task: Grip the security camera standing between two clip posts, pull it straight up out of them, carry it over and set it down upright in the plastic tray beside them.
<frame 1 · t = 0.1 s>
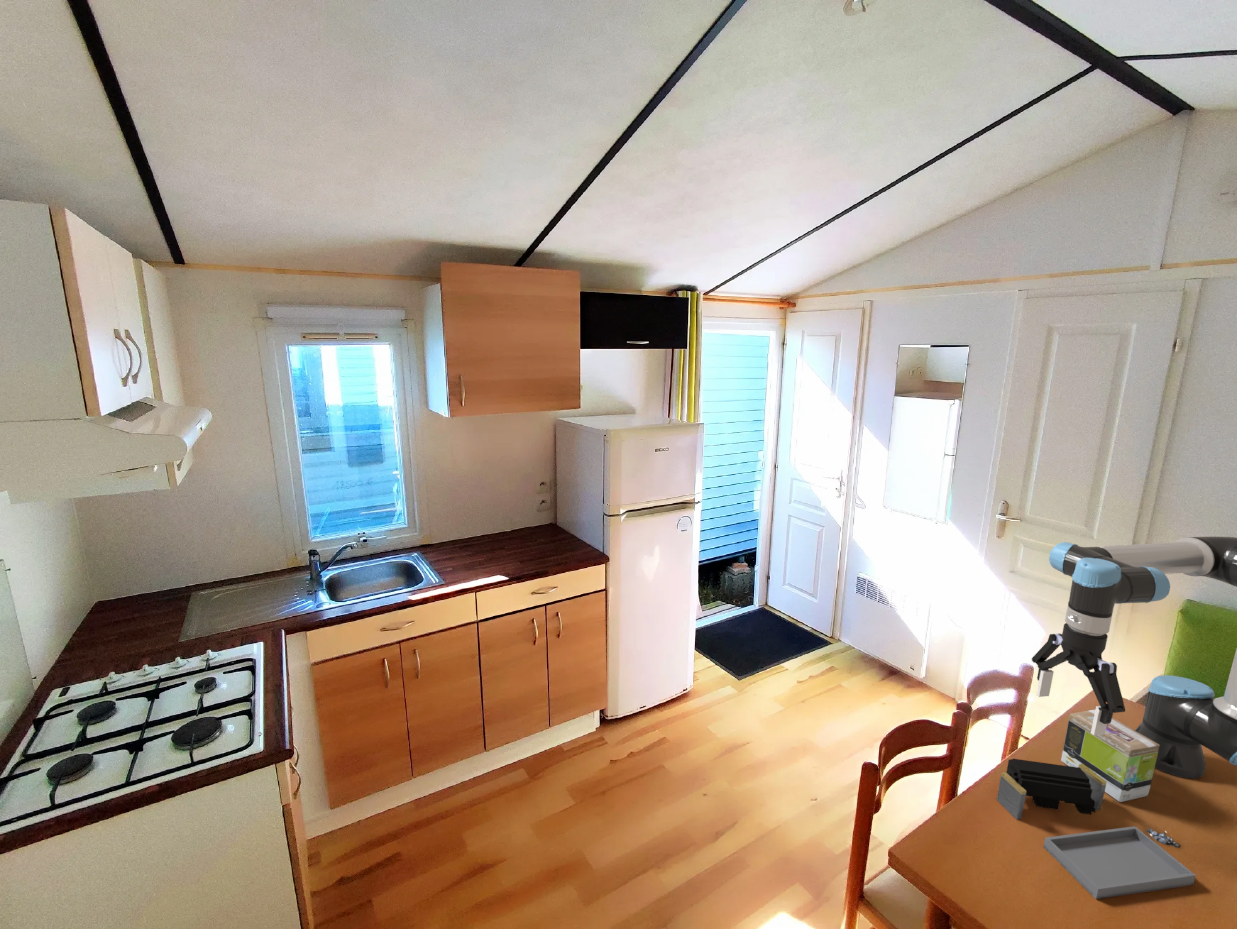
hand: (1068, 713, 128), 28 cm above the table, tool pointing down, fingers open, 13 cm apart
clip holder: (1048, 804, 137), on the table
blueberries: (1163, 840, 128), on the table
security camera: (1048, 805, 137), on the table
tray: (1115, 865, 121), on the table
tea box: (1102, 778, 146), on the table
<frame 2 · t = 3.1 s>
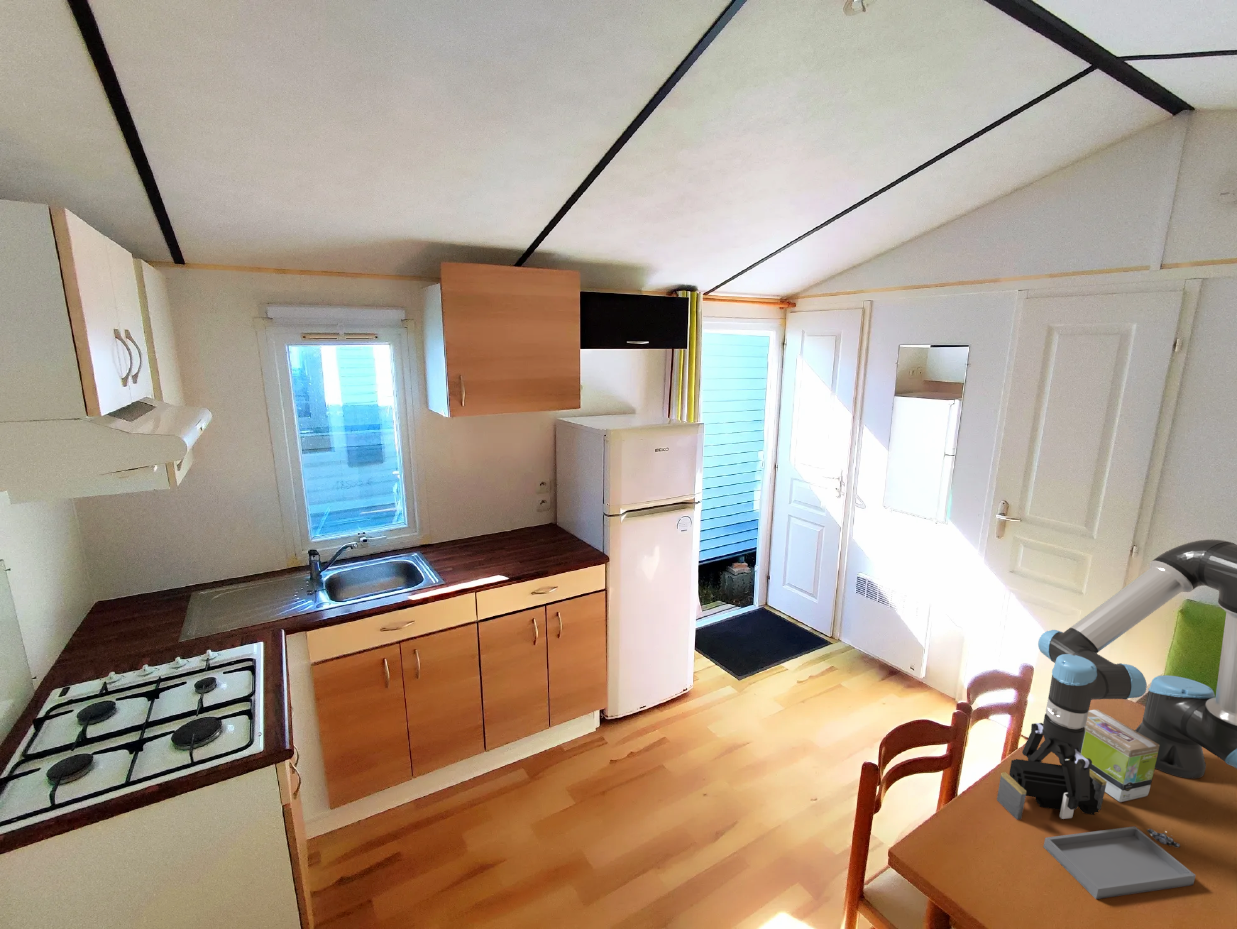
hand: (1048, 801, 137), 1 cm above the table, tool pointing down, fingers closed on security camera, 8 cm apart
security camera: (1051, 805, 137), on the table, touching gripper
everything else where it was.
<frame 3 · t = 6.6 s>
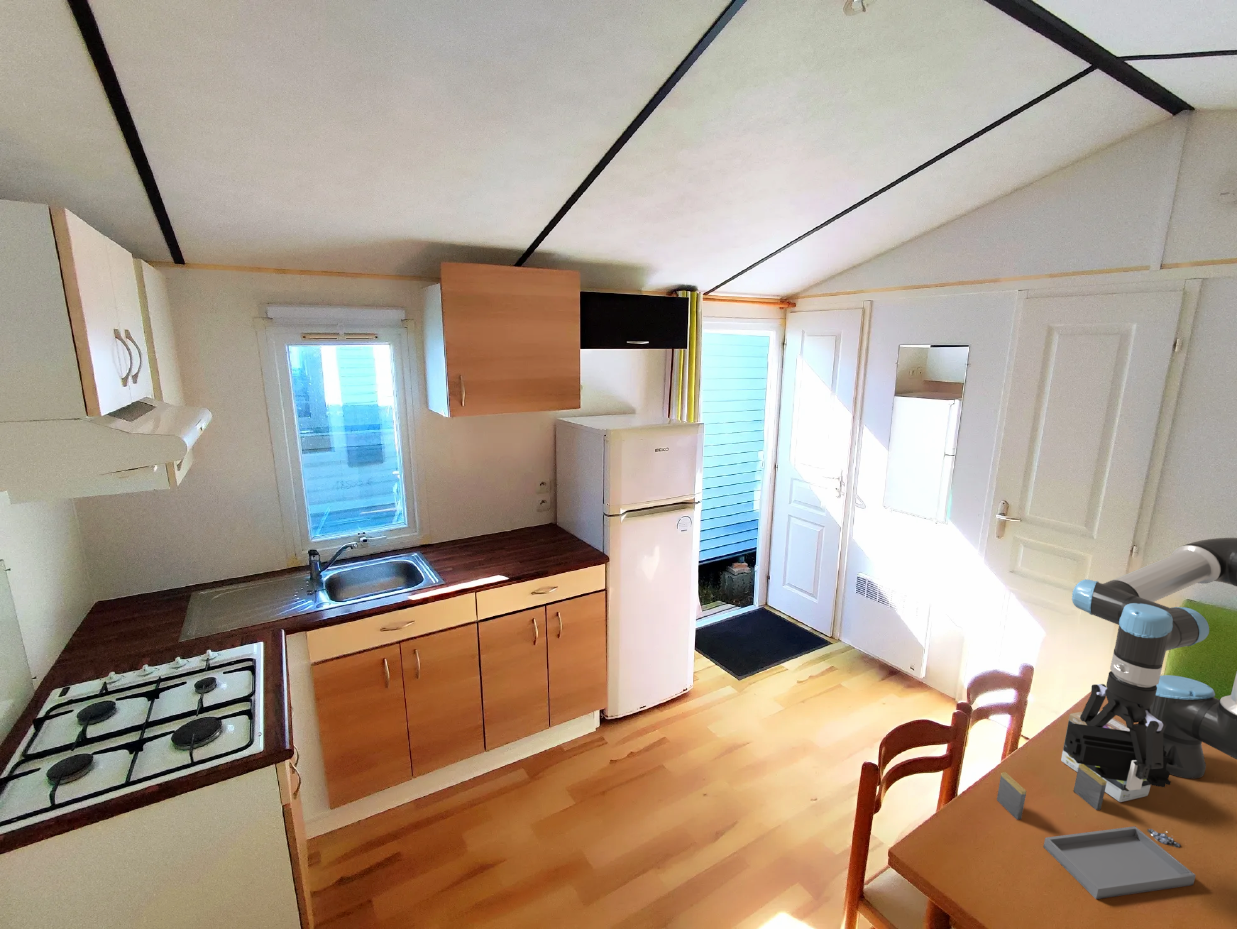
hand: (1111, 772, 121), 20 cm above the table, tool pointing down, fingers closed on security camera, 8 cm apart
security camera: (1114, 777, 121), point 19 cm above the table, touching gripper
everything else where it was.
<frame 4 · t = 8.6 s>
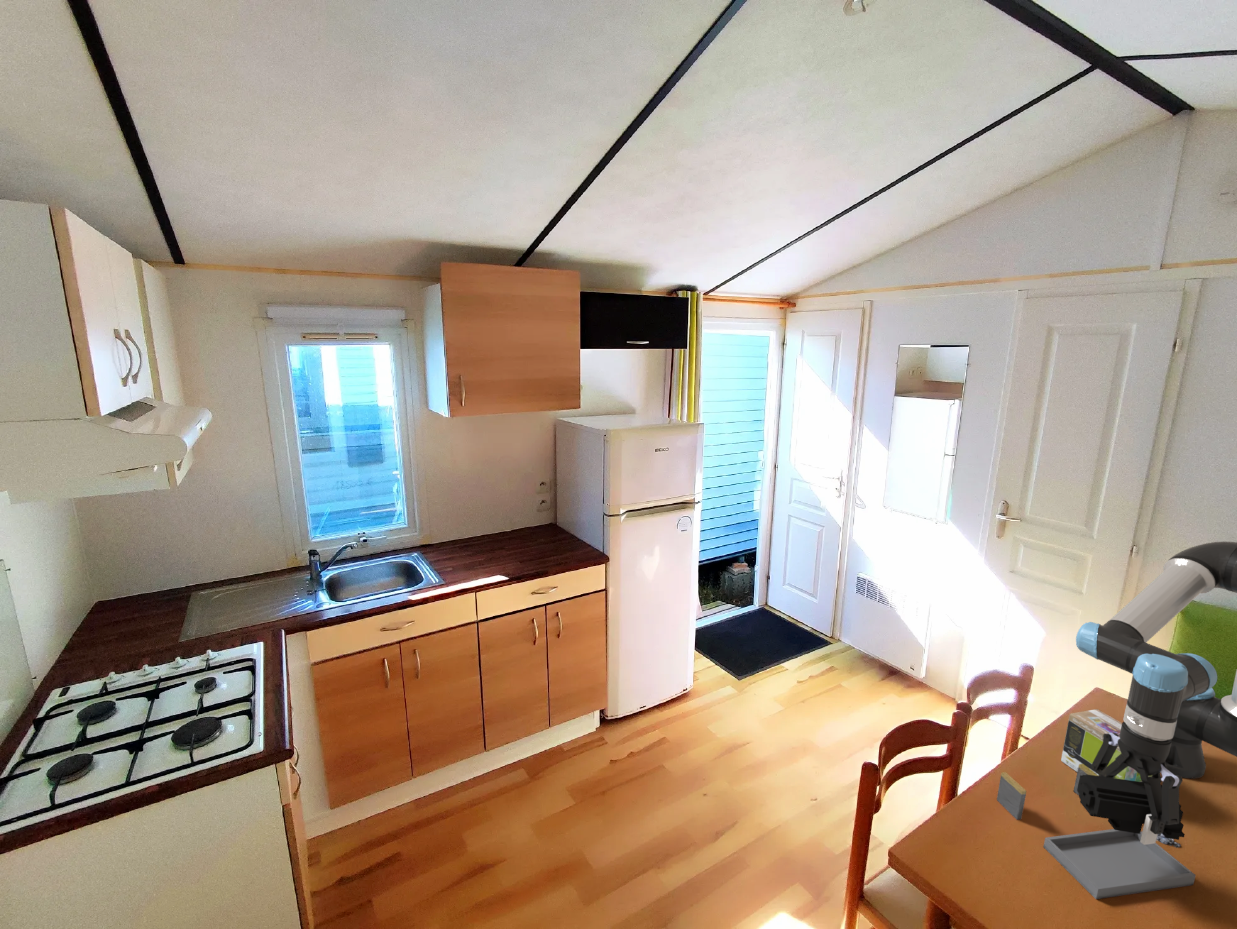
hand: (1124, 823, 119), 11 cm above the table, tool pointing down, fingers closed on security camera, 8 cm apart
security camera: (1127, 828, 119), point 10 cm above the table, touching gripper
everything else where it was.
when the fingers open (4 cm above the table, at t = 10.2 s): security camera drops 3 cm, resting on tray.
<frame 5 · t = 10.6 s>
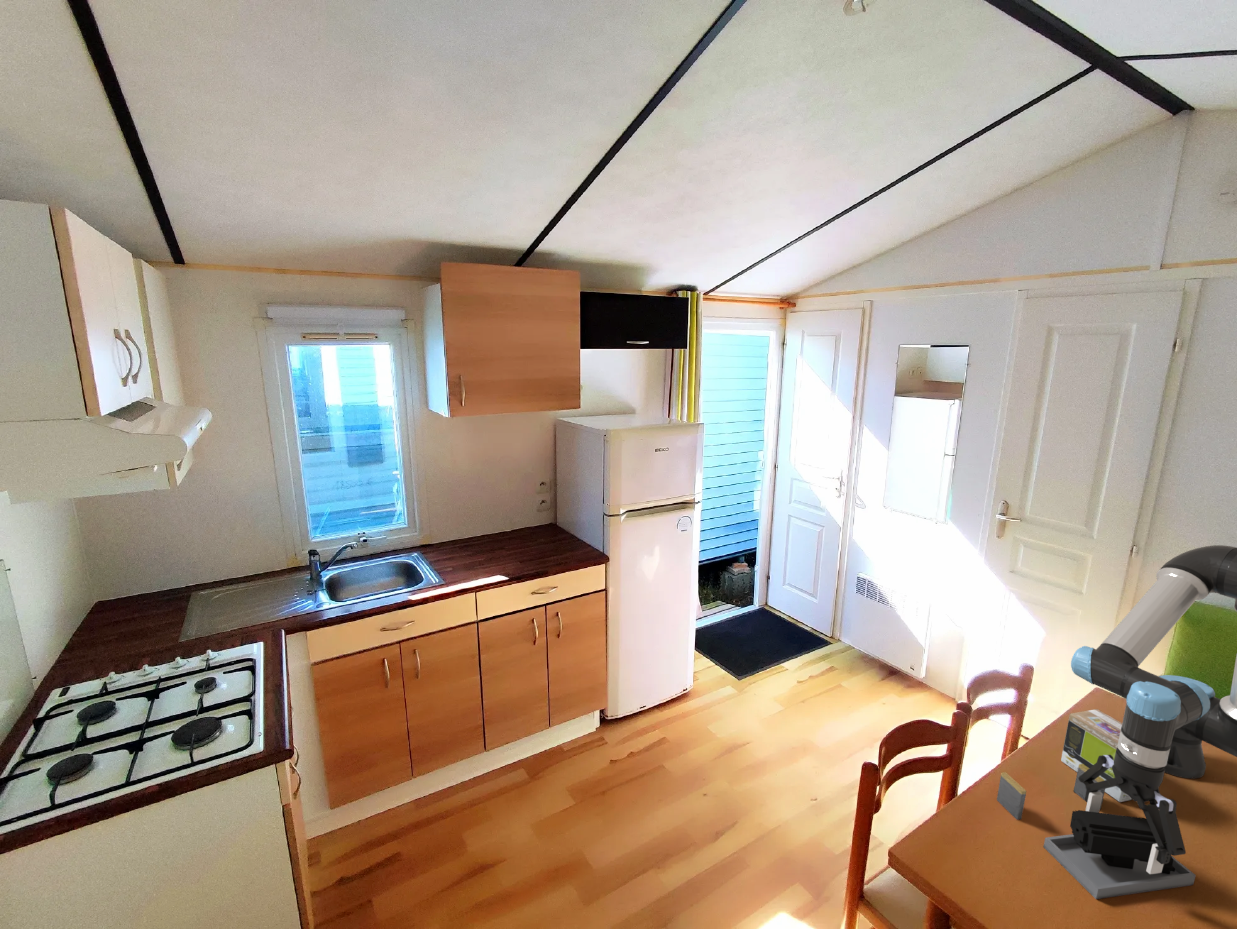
hand: (1120, 843, 120), 6 cm above the table, tool pointing down, fingers open, 13 cm apart
security camera: (1120, 864, 121), resting on tray
everything else where it was.
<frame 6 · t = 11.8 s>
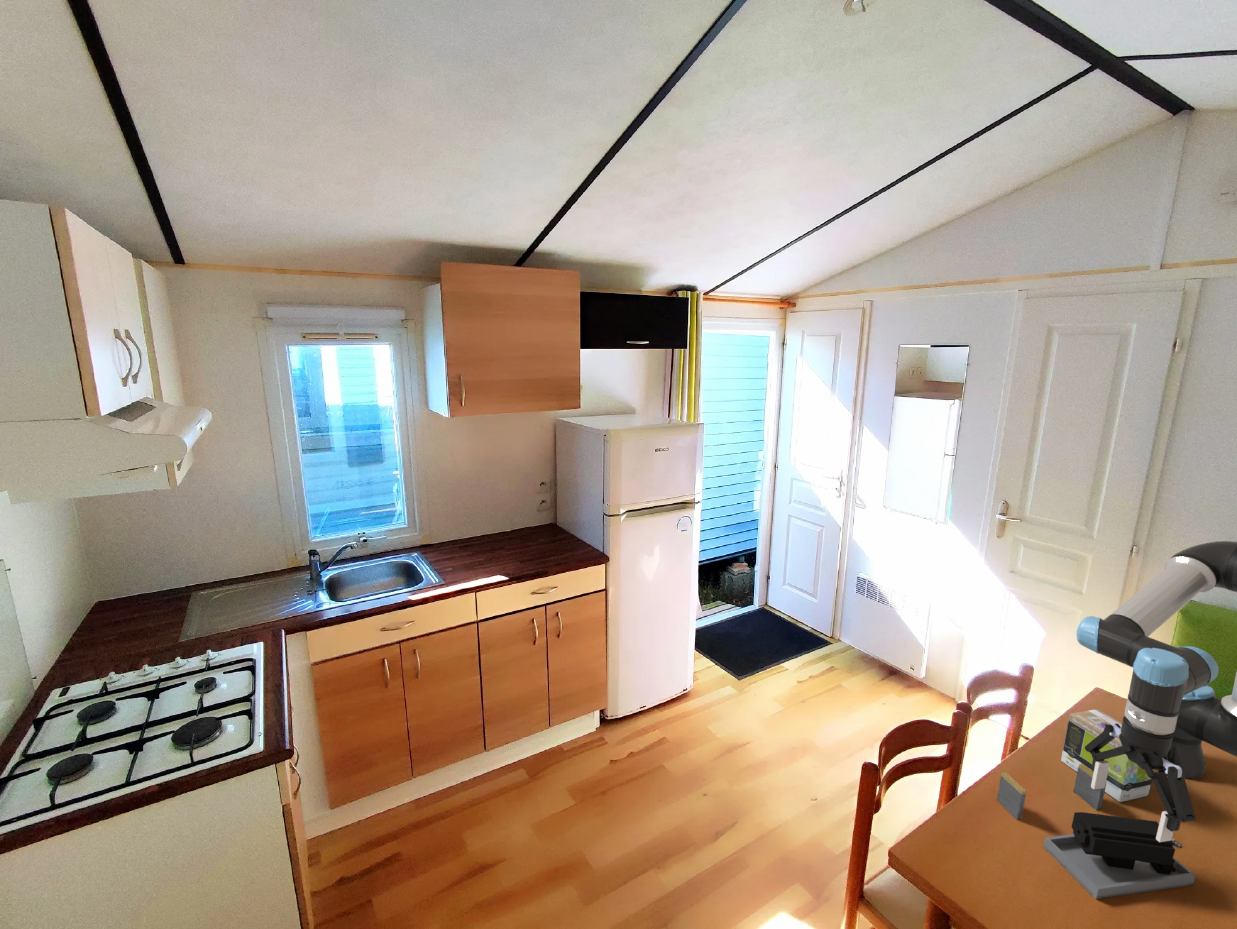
hand: (1128, 812, 118), 13 cm above the table, tool pointing down, fingers open, 13 cm apart
nothing on the table moved.
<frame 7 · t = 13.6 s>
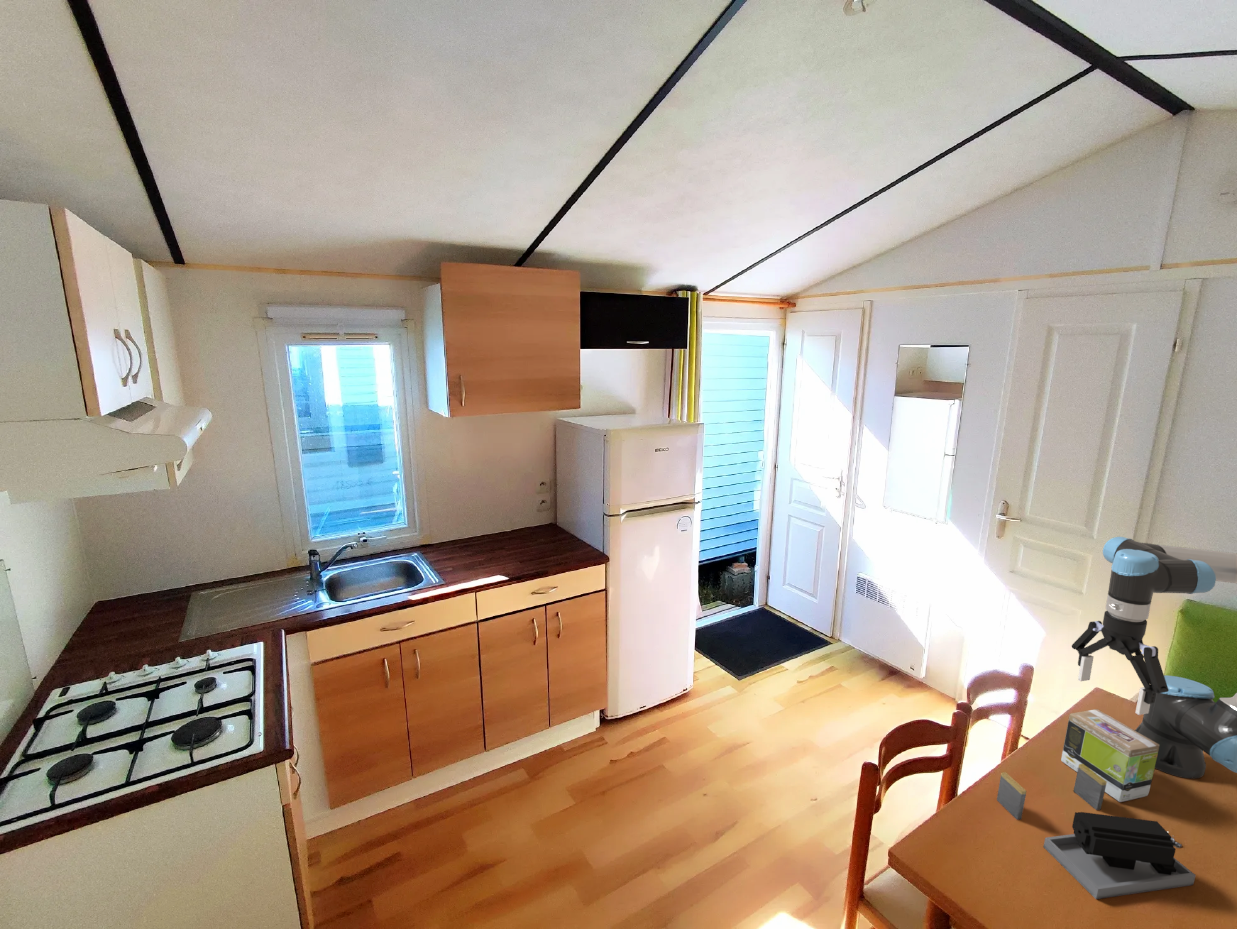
hand: (1111, 695, 136), 27 cm above the table, tool pointing down, fingers open, 13 cm apart
nothing on the table moved.
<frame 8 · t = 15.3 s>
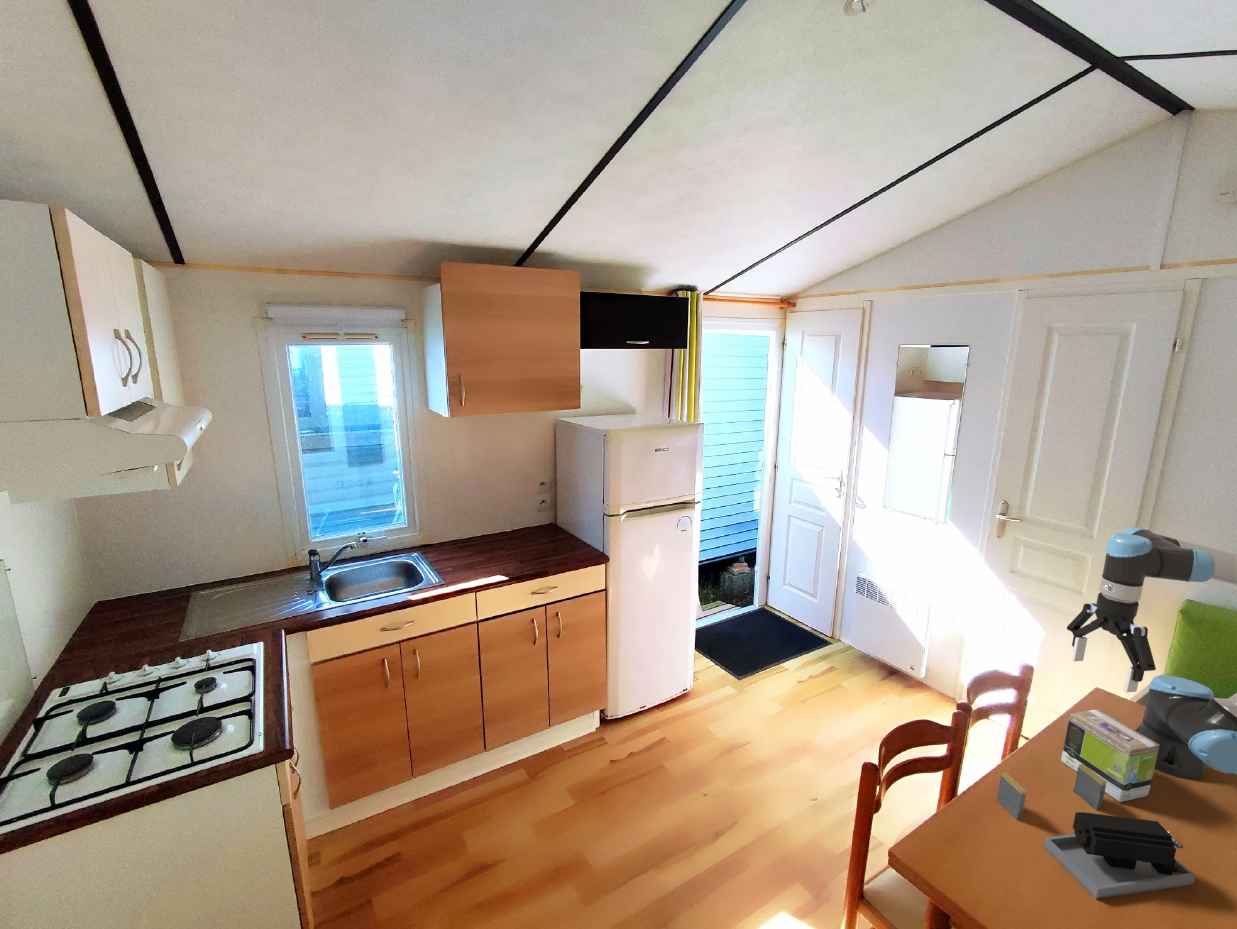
hand: (1102, 675, 141), 29 cm above the table, tool pointing down, fingers open, 13 cm apart
nothing on the table moved.
at the end: security camera inside the target area on the tray (1.3 cm from its centre), point 0.4 cm above the tray's base; security camera tilted 0°; the gripper is holding nothing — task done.
